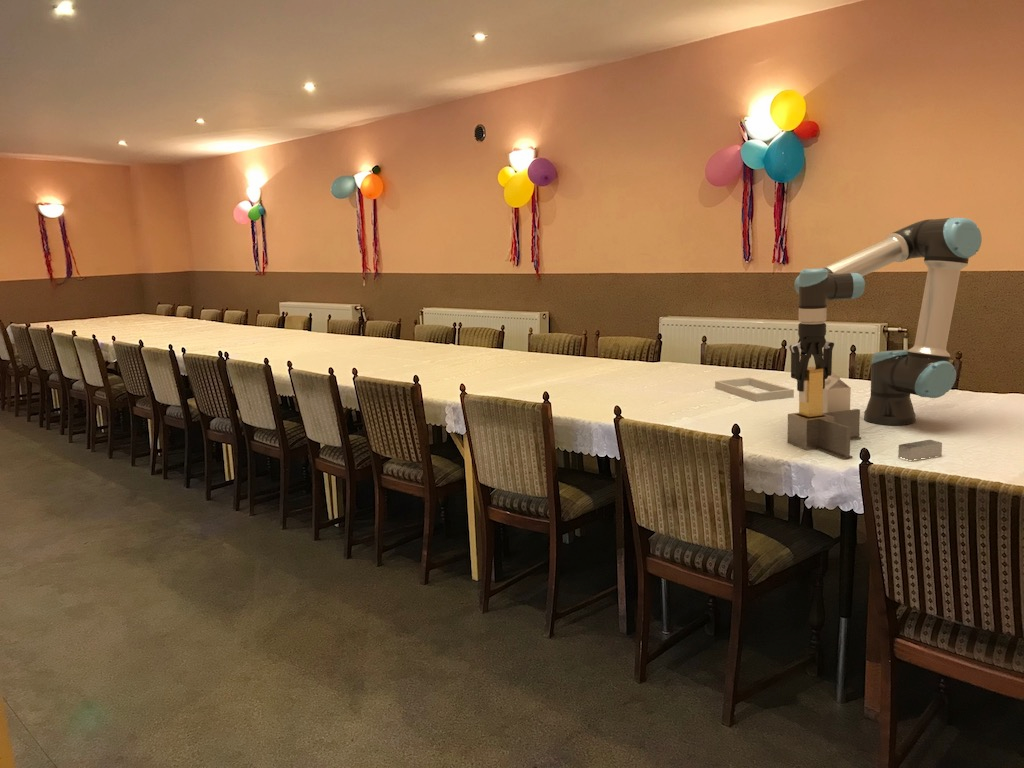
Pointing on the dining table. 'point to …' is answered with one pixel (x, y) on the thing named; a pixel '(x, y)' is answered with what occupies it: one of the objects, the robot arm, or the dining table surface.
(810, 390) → the tall golden block
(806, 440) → the brown box with panels
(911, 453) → the bar
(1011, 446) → the dining table surface
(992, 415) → the dining table surface
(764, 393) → the parts tray frame
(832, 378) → the milk carton
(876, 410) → the robot arm
